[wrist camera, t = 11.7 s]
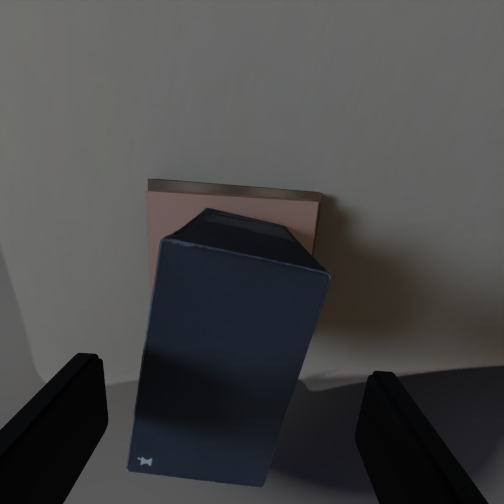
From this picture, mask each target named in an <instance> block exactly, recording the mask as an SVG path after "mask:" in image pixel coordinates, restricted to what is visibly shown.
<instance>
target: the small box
mask: <svg viewBox="0 0 504 504" xmlns="http://www.w3.org/2000/svg"><path fill="white" fill-rule="evenodd" d="M330 280H331V275H330V274H329V273H328V272H327V271H326V270H325V269H324V268H323V267H322V266H321V265H320V264H319V263H318V262H317V261H316V260H315V258H314V257H312V255H311V254H310V253H309V252H308V251H307V250H306V249H305V248H304V247H303V246H302V245H301V244H300V242H299V241H298V240H297V239H296V238H295V237H294V236H293V235H292V233H291V232H290V231H289V230H288V229H287V228H286V226H283V225H279V224H275V223H271V222H267V221H262V220H258V219H254V218H250V217H246V216H241V215H237V214H233V213H228V212H224V211H220V210H216V209H211V208H205V209H204V210H203V211H202V212H201V213H200V214H198V215H197V216H196V217H194V218H193V219H192V220H191V221H189V222H188V223H187V224H185V225H184V226H183V227H181V228H180V229H179V230H177V231H175V232H173V233H172V234H171V235H167V236H165V237H163V238H162V239H161V240H160V244H159V251H158V257H157V264H156V271H155V277H154V284H153V290H152V296H151V303H150V311H149V316H148V323H147V330H146V337H145V343H144V349H143V355H142V363H141V369H140V377H139V383H138V393H137V398H136V404H135V410H134V418H133V423H132V430H131V437H130V443H129V452H128V459H127V465H126V468H127V470H128V471H129V472H135V473H145V474H154V475H162V476H169V477H177V478H185V479H194V480H201V481H211V482H217V483H226V484H233V485H234V484H235V485H243V486H252V487H259V488H260V487H262V486H263V485H264V483H265V479H266V476H267V473H268V470H269V467H270V464H271V461H272V458H273V455H274V451H275V448H276V445H277V442H278V439H279V436H280V433H281V429H282V427H283V423H284V420H285V417H286V414H287V411H288V408H289V405H290V402H291V398H292V395H293V392H294V389H295V385H296V383H297V380H298V377H299V374H300V371H301V368H302V365H303V362H304V359H305V356H306V353H307V350H308V347H309V344H310V341H311V338H312V335H313V332H314V329H315V326H316V323H317V320H318V317H319V314H320V311H321V308H322V305H323V301H324V298H325V296H326V293H327V290H328V287H329V284H330Z"/></svg>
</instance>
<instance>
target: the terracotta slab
mask: <svg viewBox="0 0 504 504" xmlns="http://www.w3.org/2000/svg"><path fill="white" fill-rule="evenodd" d="M146 196H147V220H148V244H149V268H150V293H151V296H152V290H153V284H154V277H155V271H156V264H157V257H158V251H159V244H160V240H161V239H162V238H163V237H165V236H167V235H171V234H172V233H173V232H175V231H177V230H179V229H180V228H181V227H183V226H184V225H185V224H187V223H188V222H189V221H191V220H192V219H193V218H194V217H196V216H197V215H198V214H200V213H201V212H202V211H203V210H204V209H205V208H211V209H216V210H220V211H224V212H228V213H233V214H237V215H241V216H246V217H250V218H254V219H258V220H262V221H267V222H271V223H275V224H279V225H283V226H286V228H287V229H288V230H289V231H290V232H291V233H292V235H293V236H294V237H295V238H296V239H297V240H298V241H299V242H300V244H301V245H302V246H303V247H304V248H305V249H306V250H307V251H308V252H309V253H310V254H311V255H312V249H313V241H314V234H315V226H316V218H317V210H318V203H319V202H317V201H313V200H310V199H301V198H285V197H269V196H253V195H237V194H222V193H206V192H190V191H174V190H152V191H146Z"/></svg>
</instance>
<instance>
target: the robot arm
mask: <svg viewBox="0 0 504 504" xmlns="http://www.w3.org/2000/svg"><path fill="white" fill-rule="evenodd" d="M107 425H108V410H107V400H106V390H105V379H104V369H103V361H102V359H99V357H98V355H97V354H90V353H78V354H76V355H75V356H74V357H73V358H72V359H71V360H70V361H69V362H68V363H67V364H66V365H65V366H64V367H63V368H62V369H61V370H60V371H59V372H58V373H57V374H56V375H55V376H54V377H53V378H52V379H51V380H50V381H49V382H48V383H47V384H46V385H45V386H44V387H43V388H42V389H41V390H40V391H39V392H38V393H37V394H36V395H35V396H34V397H33V398H32V399H31V400H30V401H29V402H28V403H27V404H26V405H25V406H24V407H23V408H22V409H21V410H20V411H19V412H18V413H17V414H16V415H15V416H14V417H13V418H12V419H11V420H10V421H9V422H8V423H7V424H6V425H5V426H4V427H3V428H2V429H1V430H0V504H63V503H64V501H65V500H66V497H67V496H68V494H69V493H70V491H71V489H72V487H73V486H74V484H75V482H76V481H77V479H78V477H79V475H80V474H81V472H82V470H83V468H84V467H85V465H86V463H87V462H88V460H89V458H90V457H91V455H92V453H93V451H94V450H95V448H96V446H97V444H98V443H99V441H100V439H101V438H102V436H103V434H104V432H105V430H106V428H107ZM355 440H356V445H357V448H358V450H359V453H360V455H361V458H362V460H363V463H364V465H365V468H366V471H367V473H368V476H369V478H370V481H371V483H372V486H373V489H374V491H375V494H376V496H377V499H378V501H379V504H488V502H487V501H486V499H485V498H484V497H483V495H482V494H481V493H480V491H479V490H478V488H477V487H476V486H475V484H474V483H473V482H472V480H471V479H470V477H469V476H468V475H467V473H466V472H465V471H464V469H463V468H462V466H461V465H460V464H459V462H458V461H457V460H456V458H455V457H454V455H453V454H452V453H451V451H450V450H449V449H448V447H447V446H446V445H445V443H444V442H443V440H442V439H441V438H440V436H439V435H438V433H437V432H436V431H435V429H434V428H433V426H432V425H431V424H430V422H429V421H428V420H427V418H426V417H425V416H424V414H423V413H422V411H421V410H420V409H419V407H418V406H417V404H416V403H415V402H414V400H413V399H412V398H411V396H410V395H409V394H408V392H407V391H406V389H405V388H404V387H403V385H402V384H401V382H400V381H399V380H398V378H397V377H396V376H395V374H394V373H392V372H385V371H374V372H373V374H372V375H369V376H368V379H367V384H366V388H365V393H364V397H363V401H362V406H361V410H360V415H359V419H358V424H357V428H356V433H355Z"/></svg>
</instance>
